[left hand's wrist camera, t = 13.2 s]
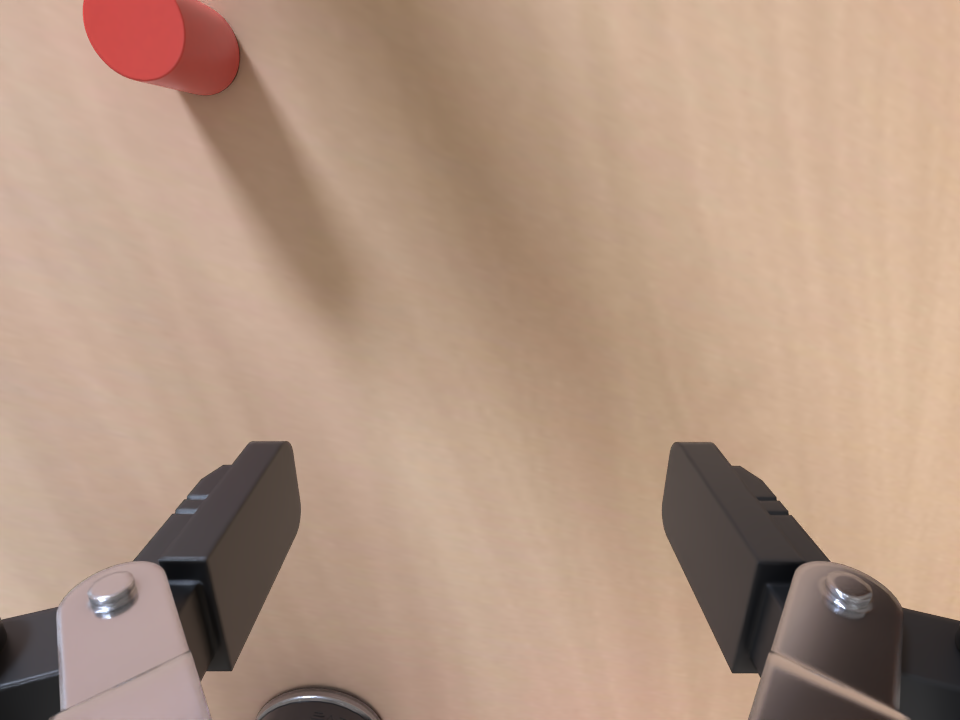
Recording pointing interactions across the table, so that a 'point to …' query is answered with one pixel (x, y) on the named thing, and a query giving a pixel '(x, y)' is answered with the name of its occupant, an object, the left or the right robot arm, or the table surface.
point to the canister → (164, 43)
